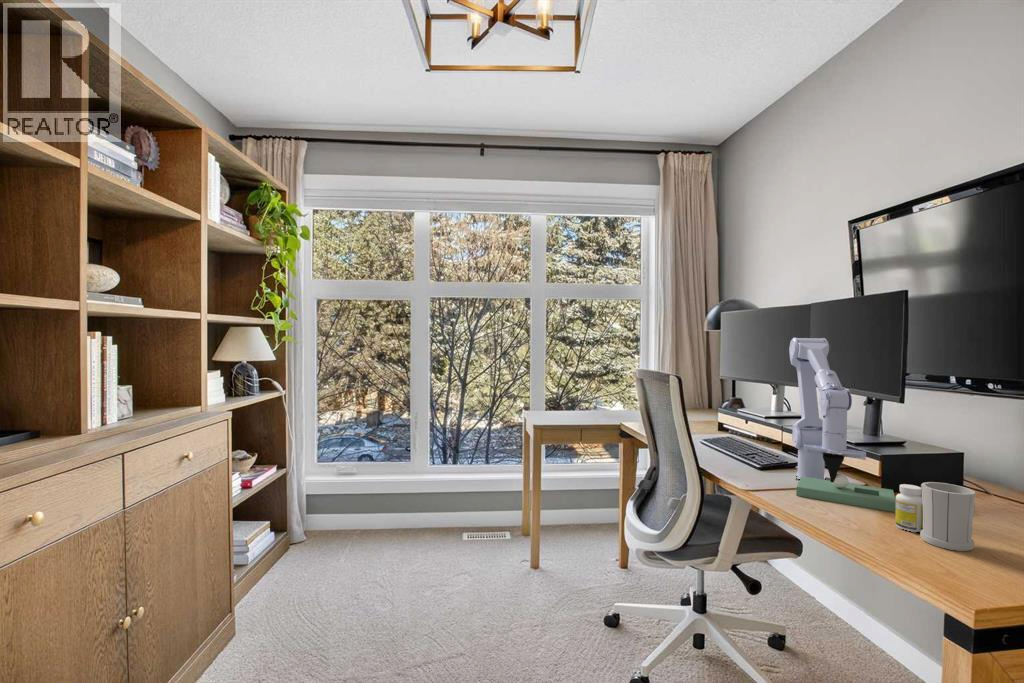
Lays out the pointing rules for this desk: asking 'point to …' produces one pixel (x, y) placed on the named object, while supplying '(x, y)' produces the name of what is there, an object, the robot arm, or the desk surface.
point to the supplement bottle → (909, 508)
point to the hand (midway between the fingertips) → (833, 481)
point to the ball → (840, 481)
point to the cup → (948, 515)
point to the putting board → (847, 494)
